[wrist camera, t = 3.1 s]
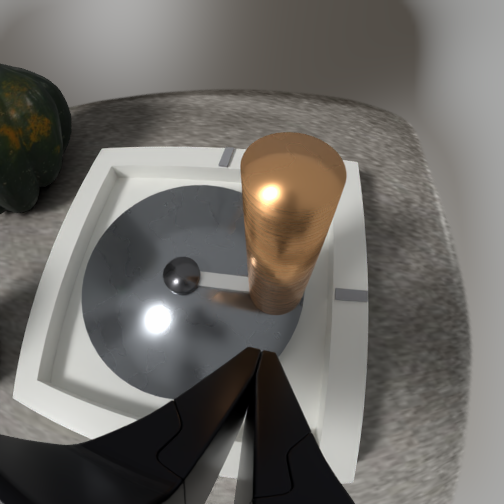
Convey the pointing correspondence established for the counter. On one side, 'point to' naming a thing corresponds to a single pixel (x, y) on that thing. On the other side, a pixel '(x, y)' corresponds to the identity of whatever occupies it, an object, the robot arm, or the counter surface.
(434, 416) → the counter surface
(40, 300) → the dial housing
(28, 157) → the squash
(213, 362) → the dial
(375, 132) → the counter surface
